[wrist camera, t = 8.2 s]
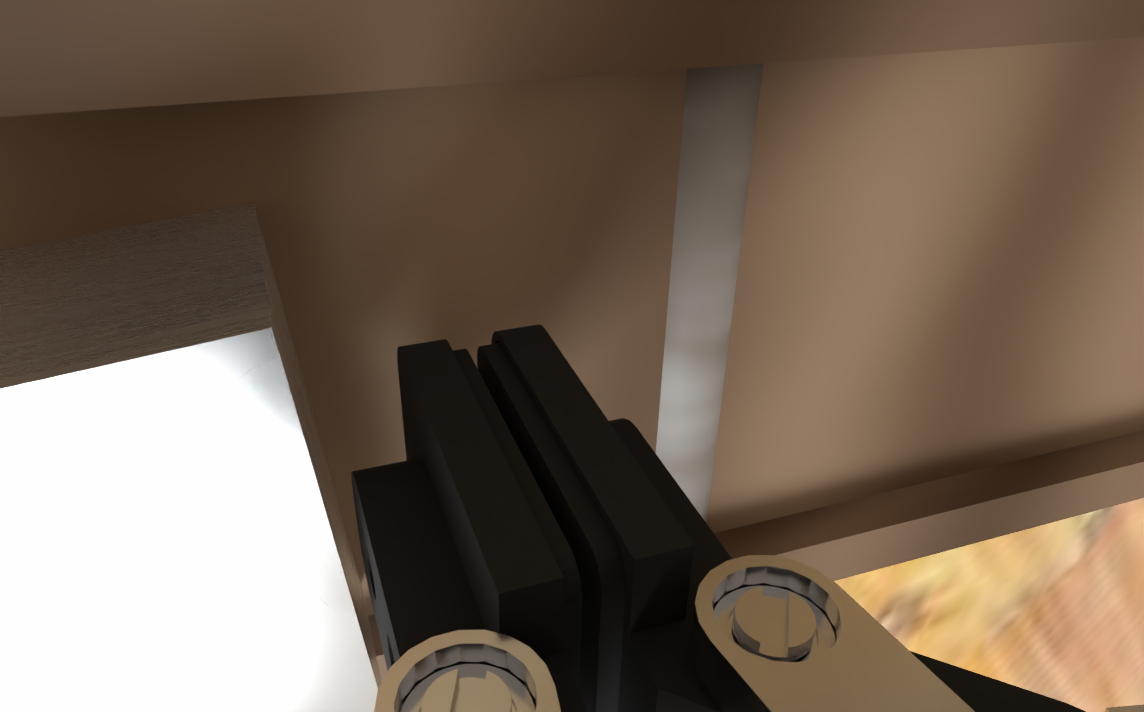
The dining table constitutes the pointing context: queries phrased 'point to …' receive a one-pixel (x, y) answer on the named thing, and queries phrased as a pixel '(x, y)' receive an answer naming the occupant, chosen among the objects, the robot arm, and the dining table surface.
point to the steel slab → (167, 484)
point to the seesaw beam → (660, 228)
